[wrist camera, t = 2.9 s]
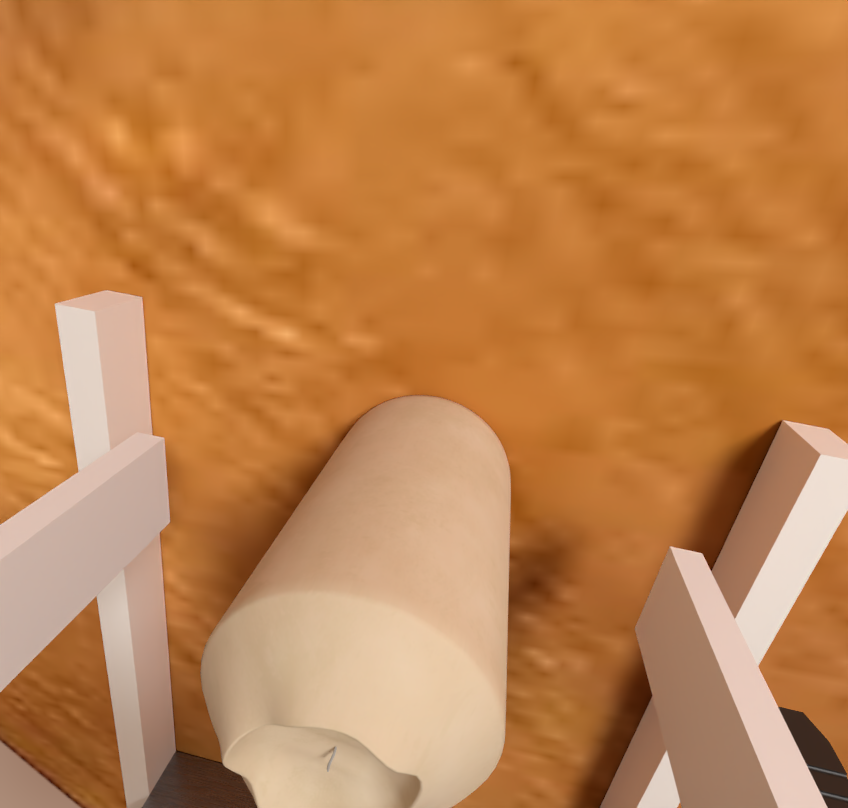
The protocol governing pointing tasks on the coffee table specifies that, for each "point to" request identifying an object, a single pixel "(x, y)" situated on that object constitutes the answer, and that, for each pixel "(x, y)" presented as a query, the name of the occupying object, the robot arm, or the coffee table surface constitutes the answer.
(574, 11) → the coffee table surface
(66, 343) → the guide track
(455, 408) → the candle
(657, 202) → the coffee table surface
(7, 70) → the coffee table surface
